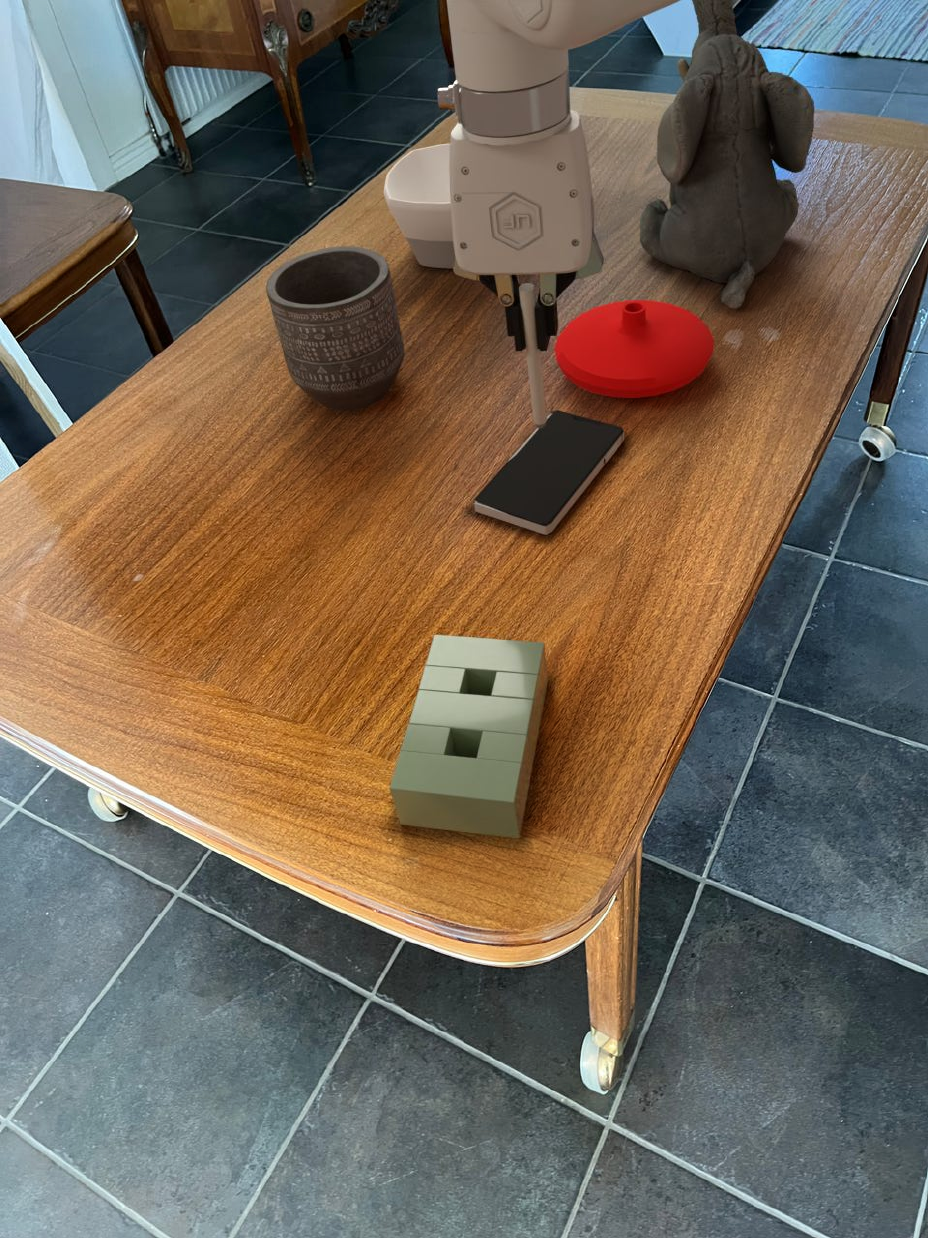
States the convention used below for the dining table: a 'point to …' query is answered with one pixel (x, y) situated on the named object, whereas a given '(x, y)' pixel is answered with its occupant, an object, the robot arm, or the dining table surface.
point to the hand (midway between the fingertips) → (533, 341)
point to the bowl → (423, 204)
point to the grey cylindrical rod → (533, 354)
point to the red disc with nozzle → (634, 348)
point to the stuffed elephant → (727, 159)
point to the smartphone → (549, 471)
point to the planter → (338, 325)
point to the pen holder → (472, 736)
